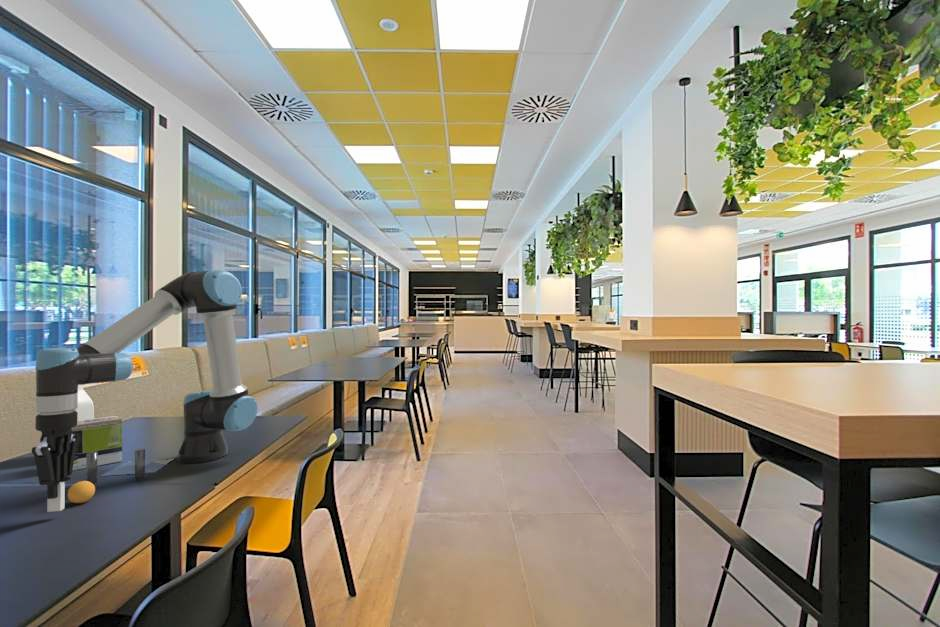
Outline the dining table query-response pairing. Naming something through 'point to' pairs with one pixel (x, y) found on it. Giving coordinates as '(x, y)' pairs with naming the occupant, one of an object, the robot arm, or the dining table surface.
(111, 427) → the tea box
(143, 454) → the inner post
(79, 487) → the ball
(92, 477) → the outer post
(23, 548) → the dining table surface
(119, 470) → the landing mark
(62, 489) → the robot arm
